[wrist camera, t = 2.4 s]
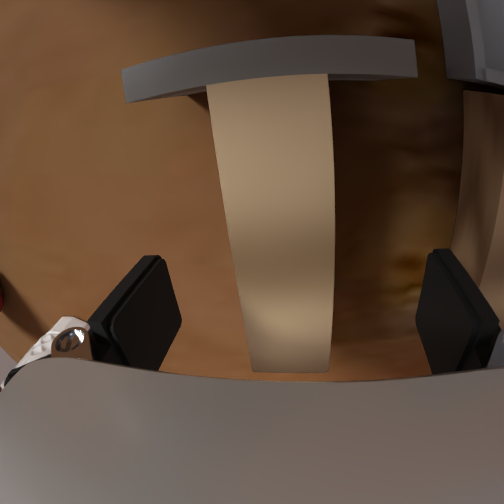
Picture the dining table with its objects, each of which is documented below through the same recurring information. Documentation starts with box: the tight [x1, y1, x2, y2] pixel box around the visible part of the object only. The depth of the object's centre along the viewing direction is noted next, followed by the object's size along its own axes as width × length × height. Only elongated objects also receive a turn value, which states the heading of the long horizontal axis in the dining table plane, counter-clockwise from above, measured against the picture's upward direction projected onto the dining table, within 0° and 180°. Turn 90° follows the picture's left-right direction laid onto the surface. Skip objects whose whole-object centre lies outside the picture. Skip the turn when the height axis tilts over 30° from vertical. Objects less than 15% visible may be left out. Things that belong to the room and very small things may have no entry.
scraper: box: [121, 35, 418, 373], centre depth 13 cm, size 13×9×6 cm
